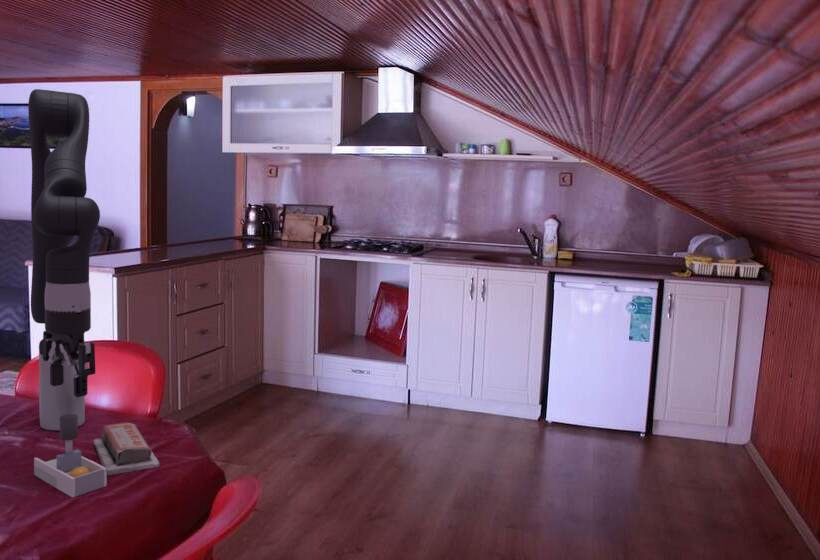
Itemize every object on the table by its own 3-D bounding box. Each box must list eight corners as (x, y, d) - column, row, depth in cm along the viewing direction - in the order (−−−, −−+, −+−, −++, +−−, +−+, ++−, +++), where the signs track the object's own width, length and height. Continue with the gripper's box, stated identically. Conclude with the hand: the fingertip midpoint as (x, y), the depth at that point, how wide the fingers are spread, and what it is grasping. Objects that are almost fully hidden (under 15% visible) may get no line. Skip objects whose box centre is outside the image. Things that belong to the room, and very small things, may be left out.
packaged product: (92, 424, 143) (141, 418, 149) (92, 445, 144) (140, 438, 149) (106, 454, 128) (160, 446, 134) (106, 478, 129) (160, 469, 134)
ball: (75, 472, 121) (76, 490, 121) (93, 466, 124) (94, 484, 124) (65, 467, 123) (66, 485, 123) (84, 462, 126) (84, 479, 126)
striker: (54, 469, 125) (53, 417, 124) (75, 463, 128) (74, 412, 127) (62, 474, 123) (62, 421, 122) (83, 467, 127) (83, 416, 125)
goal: (56, 488, 122) (56, 470, 122) (90, 477, 128) (90, 460, 127) (72, 497, 119) (72, 479, 119) (106, 485, 125) (106, 468, 124)
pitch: (34, 475, 127) (34, 458, 127) (67, 464, 133) (67, 448, 132) (56, 488, 122) (56, 470, 122) (90, 477, 128) (90, 460, 127)
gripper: (27, 301, 122) (29, 385, 125) (67, 314, 114) (68, 404, 117) (68, 297, 128) (68, 378, 131) (108, 309, 120) (108, 395, 123)
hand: (68, 390), depth 124 cm, fingers open, 8 cm apart
